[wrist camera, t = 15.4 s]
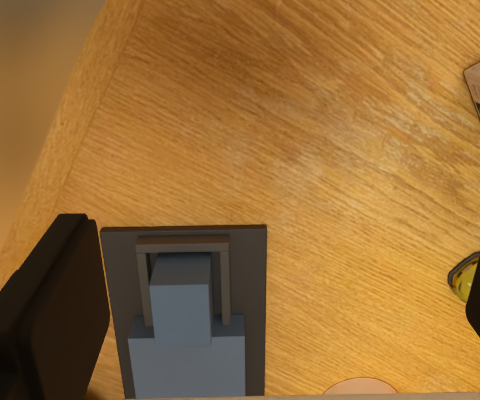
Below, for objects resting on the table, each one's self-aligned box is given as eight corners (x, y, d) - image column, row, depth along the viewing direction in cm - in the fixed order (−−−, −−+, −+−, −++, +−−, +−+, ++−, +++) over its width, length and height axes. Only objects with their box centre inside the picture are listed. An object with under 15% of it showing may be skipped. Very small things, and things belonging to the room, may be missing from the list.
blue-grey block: (158, 251, 39) (148, 285, 34) (211, 250, 39) (208, 284, 34) (163, 309, 41) (155, 348, 36) (213, 308, 41) (211, 346, 37)
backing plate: (101, 227, 38) (88, 250, 35) (266, 224, 39) (270, 246, 35) (133, 440, 49) (126, 474, 46) (263, 437, 49) (265, 470, 46)
